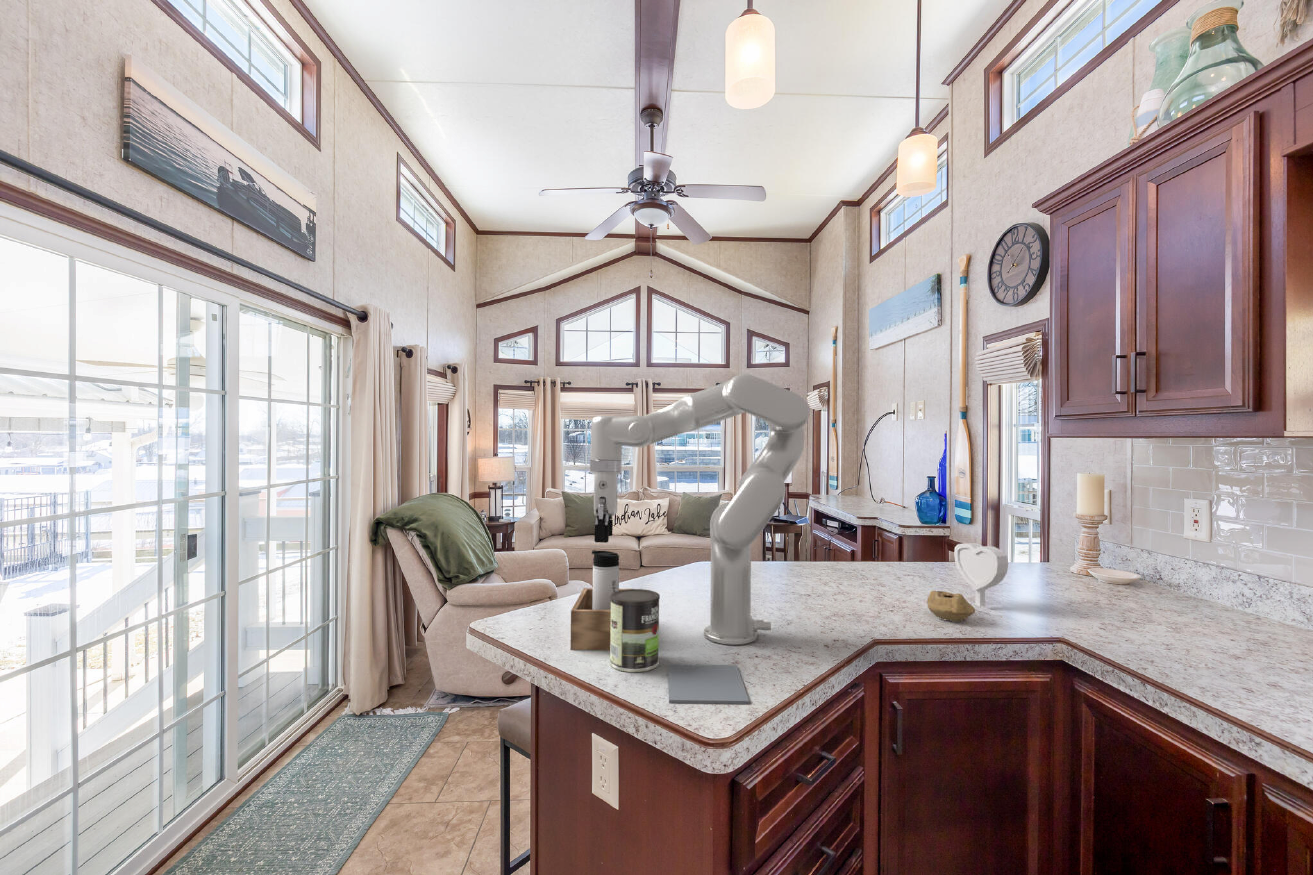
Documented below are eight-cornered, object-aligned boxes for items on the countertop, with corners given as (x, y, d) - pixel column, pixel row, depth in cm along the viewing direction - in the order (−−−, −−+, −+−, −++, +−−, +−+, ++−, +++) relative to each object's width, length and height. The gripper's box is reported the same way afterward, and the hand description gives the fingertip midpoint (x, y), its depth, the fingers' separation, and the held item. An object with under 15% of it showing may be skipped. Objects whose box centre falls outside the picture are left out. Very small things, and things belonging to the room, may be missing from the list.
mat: (736, 667, 112) (736, 665, 112) (749, 703, 96) (749, 700, 96) (668, 666, 113) (668, 664, 113) (669, 702, 97) (669, 699, 97)
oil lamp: (944, 608, 156) (944, 580, 156) (986, 625, 142) (986, 594, 142) (910, 610, 154) (910, 582, 154) (949, 628, 139) (949, 596, 139)
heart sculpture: (952, 601, 163) (951, 540, 164) (966, 600, 165) (966, 540, 165) (995, 617, 148) (995, 550, 149) (1010, 616, 150) (1010, 549, 150)
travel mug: (591, 630, 135) (592, 548, 135) (618, 630, 135) (619, 548, 136) (590, 639, 128) (591, 553, 129) (618, 639, 129) (619, 553, 129)
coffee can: (668, 660, 116) (668, 592, 117) (641, 676, 108) (642, 604, 108) (628, 650, 122) (628, 586, 122) (599, 665, 113) (600, 596, 113)
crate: (634, 622, 142) (634, 588, 142) (629, 650, 122) (629, 611, 122) (583, 621, 142) (583, 588, 142) (570, 649, 122) (570, 610, 122)
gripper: (618, 469, 124) (616, 545, 124) (623, 466, 141) (622, 533, 141) (585, 468, 124) (582, 544, 124) (594, 466, 141) (592, 533, 141)
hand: (603, 538), depth 132 cm, fingers open, 9 cm apart
